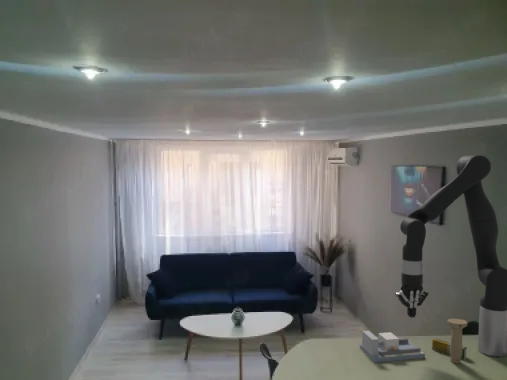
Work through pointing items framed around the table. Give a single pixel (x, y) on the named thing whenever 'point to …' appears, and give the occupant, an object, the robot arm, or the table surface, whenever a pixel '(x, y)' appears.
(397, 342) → the plunger
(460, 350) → the handle
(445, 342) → the medication box
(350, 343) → the table surface
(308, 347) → the table surface
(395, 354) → the gauge bed
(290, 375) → the table surface
